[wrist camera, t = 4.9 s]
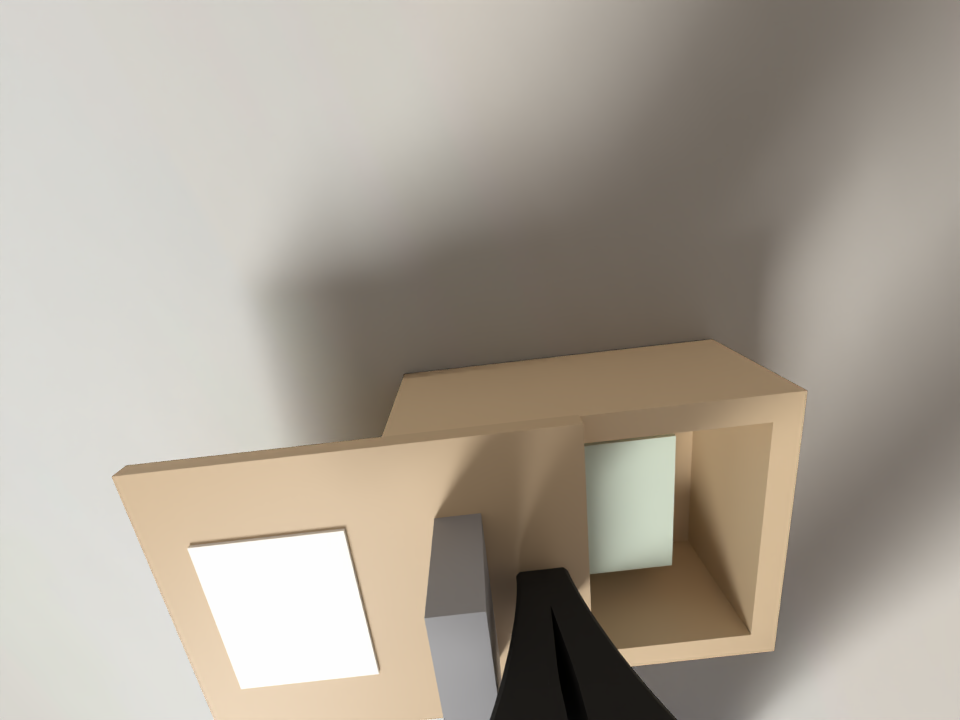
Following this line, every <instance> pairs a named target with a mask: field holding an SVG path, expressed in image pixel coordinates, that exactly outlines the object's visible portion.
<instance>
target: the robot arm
mask: <svg viewBox="0 0 960 720" xmlns="http://www.w3.org/2000/svg"><path fill="white" fill-rule="evenodd" d="M516 582H517V597H516V608H515V617H514V623H513V629H512V635H511V640H510V646H509V651H508V655H507V659H506V663H505V667H504V672H503V676H502V680H501V684H500V687H499V691H498V694H497V698H496V701H495V705H494V708H493V711H492V714H491V717H490V720H677V719H676V718H675V717H674V716H673V715H672V714H671V713H670V712H669V710H668V709H667V708H666V707H665V706H664V705H663V704H662V703H661V702H660V700H659V699H658V698H657V697H656V696H655V695H654V694H653V693H652V691H651V690H650V689H649V688H648V687H647V686H646V684H645V683H644V682H643V681H642V680H641V678H640V677H639V676H638V675H637V674H636V672H635V671H634V670H633V669H632V667H631V666H630V665H629V664H628V662H627V661H626V660H625V658H624V657H623V656H622V655H621V653H620V652H619V651H618V649H617V648H616V647H615V645H614V644H613V643H612V641H611V640H610V638H609V637H608V635H607V634H606V633H605V631H604V630H603V628H602V627H601V625H600V624H599V623H598V621H597V620H596V618H595V617H594V615H593V614H592V612H591V611H590V609H589V607H588V606H587V604H586V603H585V601H584V599H583V598H582V596H581V594H580V593H579V591H578V589H577V587H576V586H575V584H574V582H573V580H572V578H571V576H570V574H569V572H568V570H567V569H565V568H564V567H560V568H551V569H542V570H532V571H523V572H519V573H518V574H517V575H516Z"/></svg>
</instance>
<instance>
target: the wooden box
mask: <svg viewBox="0 0 960 720" xmlns="http://www.w3.org/2000/svg"><path fill="white" fill-rule="evenodd" d="M806 398H807V390H805V389H803V388H802V387H800V386H798V385H796V384H794V383H792V382H790V381H789V380H787V379H785V378H783V377H781V376H779V375H778V374H776V373H774V372H772V371H770V370H768V369H766V368H765V367H763V366H761V365H759V364H757V363H755V362H753V361H752V360H750V359H748V358H746V357H744V356H742V355H741V354H739V353H737V352H735V351H733V350H731V349H729V348H728V347H726V346H724V345H722V344H720V343H718V342H717V341H715V340H713V339H710V340H701V341H692V342H683V343H674V344H665V345H657V346H648V347H639V348H630V349H621V350H612V351H604V352H595V353H586V354H577V355H568V356H559V357H551V358H542V359H533V360H524V361H515V362H506V363H498V364H489V365H480V366H471V367H462V368H453V369H445V370H436V371H427V372H418V373H409V374H404V377H403V379H402V382H401V385H400V388H399V390H398V393H397V396H396V399H395V401H394V404H393V407H392V410H391V413H390V415H389V418H388V421H387V424H386V426H385V429H384V432H383V435H382V437H384V436H393V435H402V434H411V433H420V432H429V431H438V430H447V429H456V428H465V427H473V426H482V425H491V424H500V423H509V422H518V421H527V420H536V419H545V418H554V417H562V416H571V415H579V416H580V418H581V420H582V422H583V426H584V450H585V474H586V499H587V523H588V547H589V571H590V595H591V612H592V614H593V615H594V617H595V618H596V620H597V621H598V623H599V624H600V625H601V627H602V628H603V630H604V631H605V633H606V634H607V635H608V637H609V638H610V640H611V641H612V643H613V644H614V645H615V647H616V648H617V649H618V651H619V652H620V653H621V655H622V656H623V657H624V658H625V660H626V661H627V662H628V664H629V665H630V666H631V667H632V666H641V665H650V664H659V663H668V662H677V661H687V660H696V659H705V658H714V657H723V656H733V655H742V654H751V653H760V652H769V651H774V648H775V640H776V632H777V625H778V617H779V609H780V601H781V593H782V586H783V578H784V570H785V562H786V554H787V547H788V539H789V531H790V523H791V515H792V508H793V500H794V492H795V484H796V476H797V469H798V461H799V453H800V445H801V437H802V430H803V422H804V414H805V406H806Z"/></svg>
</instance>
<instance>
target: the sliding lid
mask: <svg viewBox="0 0 960 720" xmlns="http://www.w3.org/2000/svg"><path fill="white" fill-rule="evenodd" d="M112 479H113V481H114V483H115V486H116V488H117V491H118V493H119V495H120V498H121V500H122V502H123V505H124V507H125V509H126V512H127V514H128V517H129V519H130V521H131V524H132V526H133V528H134V531H135V533H136V536H137V538H138V540H139V543H140V545H141V547H142V550H143V552H144V554H145V557H146V559H147V562H148V564H149V566H150V569H151V571H152V573H153V576H154V578H155V581H156V583H157V585H158V588H159V590H160V592H161V595H162V597H163V599H164V602H165V604H166V607H167V609H168V611H169V614H170V616H171V618H172V621H173V623H174V626H175V628H176V630H177V633H178V635H179V637H180V640H181V642H182V644H183V647H184V649H185V652H186V654H187V656H188V659H189V661H190V663H191V666H192V668H193V670H194V673H195V675H196V678H197V680H198V682H199V685H200V687H201V689H202V692H203V694H204V697H205V699H206V701H207V704H208V706H209V708H210V711H211V713H212V715H213V718H214V720H427V719H436V718H444V720H490V717H491V714H492V711H493V708H494V705H495V701H496V698H497V694H498V691H499V687H500V684H501V680H502V676H503V672H504V667H505V663H506V659H507V655H508V651H509V646H510V640H511V635H512V629H513V623H514V617H515V608H516V597H517V582H516V575H517V574H518V573H519V572H523V571H532V570H542V569H551V568H560V567H564V568H565V569H567V570H568V572H569V574H570V576H571V578H572V580H573V582H574V584H575V586H576V587H577V589H578V591H579V593H580V594H581V596H582V598H583V599H584V601H585V603H586V604H587V606H588V607H589V609H590V611H591V595H590V571H589V547H588V523H587V499H586V474H585V450H584V426H583V422H582V420H581V418H580V416H579V415H571V416H562V417H554V418H545V419H536V420H527V421H518V422H509V423H500V424H491V425H482V426H473V427H465V428H456V429H447V430H438V431H429V432H420V433H411V434H402V435H393V436H384V437H376V438H367V439H358V440H349V441H340V442H331V443H322V444H313V445H304V446H296V447H287V448H278V449H269V450H260V451H251V452H242V453H233V454H224V455H215V456H207V457H198V458H189V459H180V460H171V461H162V462H153V463H144V464H135V465H126V466H125V467H124V468H122V469H121V470H120V471H118V472H117V473H116V474H114V475H113V476H112Z"/></svg>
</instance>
